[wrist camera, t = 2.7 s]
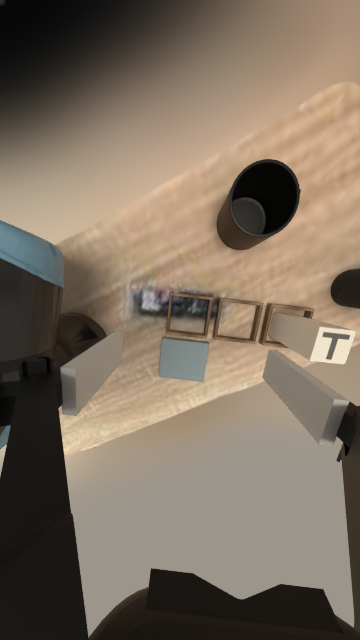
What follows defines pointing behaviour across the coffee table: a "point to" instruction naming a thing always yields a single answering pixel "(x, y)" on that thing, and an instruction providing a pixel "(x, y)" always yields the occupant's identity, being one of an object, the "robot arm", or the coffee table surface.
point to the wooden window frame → (255, 324)
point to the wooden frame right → (268, 316)
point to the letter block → (312, 338)
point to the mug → (258, 204)
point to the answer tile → (183, 359)
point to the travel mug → (347, 289)
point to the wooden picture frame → (189, 332)
